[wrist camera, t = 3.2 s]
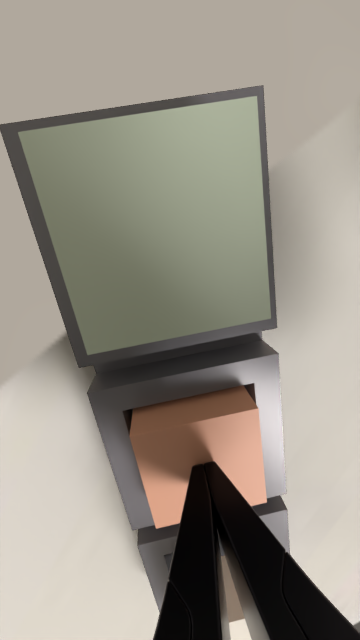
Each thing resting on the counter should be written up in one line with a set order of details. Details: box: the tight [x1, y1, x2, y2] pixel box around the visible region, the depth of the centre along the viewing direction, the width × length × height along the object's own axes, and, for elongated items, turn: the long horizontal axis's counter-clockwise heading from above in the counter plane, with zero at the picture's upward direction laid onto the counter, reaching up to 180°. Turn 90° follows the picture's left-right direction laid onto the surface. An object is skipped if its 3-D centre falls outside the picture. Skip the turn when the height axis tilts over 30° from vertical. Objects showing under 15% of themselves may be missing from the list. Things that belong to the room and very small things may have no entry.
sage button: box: [18, 96, 271, 355], centre depth 6 cm, size 4×4×2 cm
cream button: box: [221, 556, 252, 640], centre depth 11 cm, size 4×4×2 cm
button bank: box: [0, 86, 290, 612], centre depth 11 cm, size 23×7×2 cm, turn 10°
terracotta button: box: [129, 385, 267, 529], centre depth 10 cm, size 4×4×2 cm
